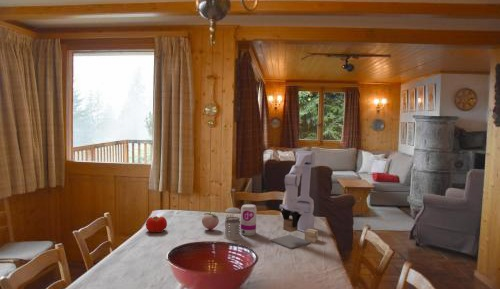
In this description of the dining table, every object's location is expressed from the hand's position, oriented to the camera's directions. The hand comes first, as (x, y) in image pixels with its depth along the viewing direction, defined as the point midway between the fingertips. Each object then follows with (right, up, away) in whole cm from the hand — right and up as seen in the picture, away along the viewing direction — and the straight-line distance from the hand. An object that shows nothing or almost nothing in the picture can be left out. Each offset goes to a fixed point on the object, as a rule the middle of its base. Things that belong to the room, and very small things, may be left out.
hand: (290, 225), depth 185 cm
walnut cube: (0, -2, 0) cm, 2 cm away
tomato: (-70, -6, +14) cm, 72 cm away
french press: (-30, -8, +6) cm, 31 cm away
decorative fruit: (-42, -7, +18) cm, 46 cm away
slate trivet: (0, -8, 0) cm, 8 cm away
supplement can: (-21, -7, +13) cm, 26 cm away
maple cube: (+11, -9, +4) cm, 14 cm away
